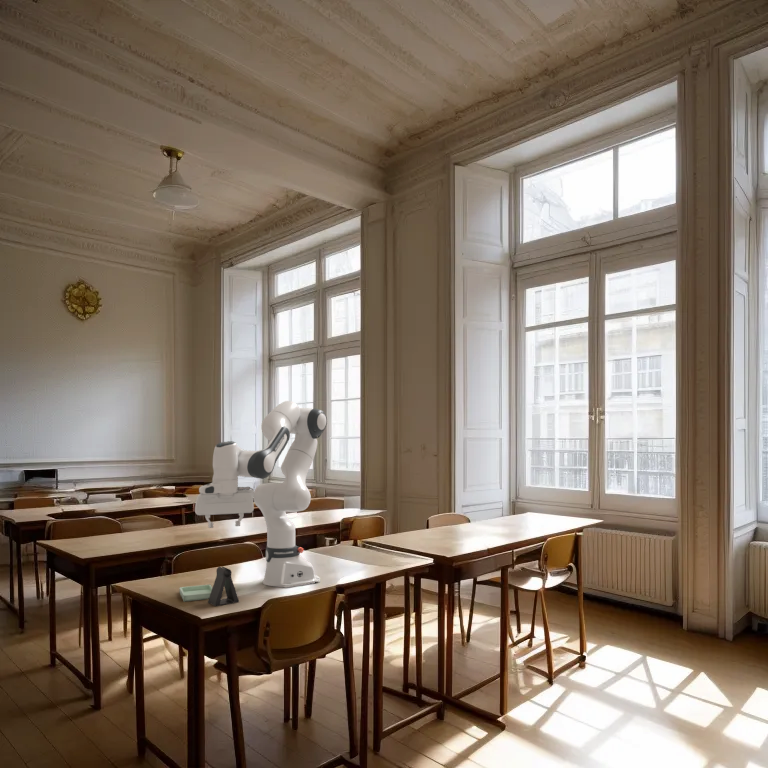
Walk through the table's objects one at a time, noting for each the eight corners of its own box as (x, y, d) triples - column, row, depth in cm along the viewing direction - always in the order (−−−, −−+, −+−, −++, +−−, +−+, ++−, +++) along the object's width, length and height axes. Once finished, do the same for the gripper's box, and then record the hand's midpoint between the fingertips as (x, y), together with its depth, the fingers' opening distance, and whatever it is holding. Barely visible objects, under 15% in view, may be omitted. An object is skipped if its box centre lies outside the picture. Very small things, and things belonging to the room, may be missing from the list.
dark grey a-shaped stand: (231, 598, 231) (232, 564, 231) (239, 602, 226) (239, 567, 227) (207, 602, 225) (208, 568, 226) (214, 606, 220) (215, 571, 221)
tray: (210, 589, 243) (210, 584, 243) (216, 598, 231) (216, 592, 231) (179, 592, 239) (179, 587, 239) (183, 601, 227) (183, 595, 227)
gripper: (252, 485, 235) (251, 523, 234) (194, 487, 227) (193, 527, 226) (256, 487, 230) (255, 526, 229) (197, 489, 221) (196, 529, 220)
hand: (224, 526), depth 227 cm, fingers open, 8 cm apart
